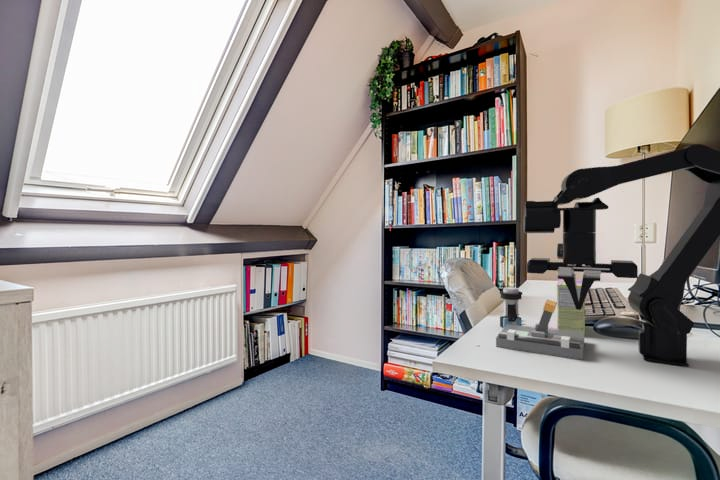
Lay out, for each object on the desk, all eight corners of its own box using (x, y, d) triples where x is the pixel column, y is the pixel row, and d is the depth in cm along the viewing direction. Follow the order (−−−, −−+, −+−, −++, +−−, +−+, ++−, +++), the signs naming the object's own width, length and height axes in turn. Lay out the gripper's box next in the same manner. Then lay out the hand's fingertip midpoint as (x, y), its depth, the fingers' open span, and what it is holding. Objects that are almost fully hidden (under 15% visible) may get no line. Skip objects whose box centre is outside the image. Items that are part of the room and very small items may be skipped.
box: (558, 323, 96) (558, 278, 96) (584, 326, 93) (584, 280, 93) (556, 334, 87) (556, 284, 87) (584, 337, 84) (584, 286, 84)
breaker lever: (546, 332, 80) (557, 302, 79) (544, 337, 77) (555, 306, 75) (536, 328, 81) (547, 299, 80) (534, 333, 78) (545, 302, 76)
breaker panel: (584, 342, 81) (584, 325, 80) (582, 360, 70) (582, 340, 70) (507, 332, 89) (507, 316, 89) (495, 347, 79) (495, 329, 79)
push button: (519, 323, 97) (519, 286, 96) (531, 329, 91) (531, 289, 91) (496, 325, 96) (495, 287, 95) (506, 330, 90) (506, 290, 90)
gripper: (632, 231, 76) (631, 306, 77) (533, 232, 86) (533, 298, 87) (638, 233, 67) (637, 318, 67) (526, 233, 77) (526, 307, 77)
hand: (578, 309), depth 75 cm, fingers closed
